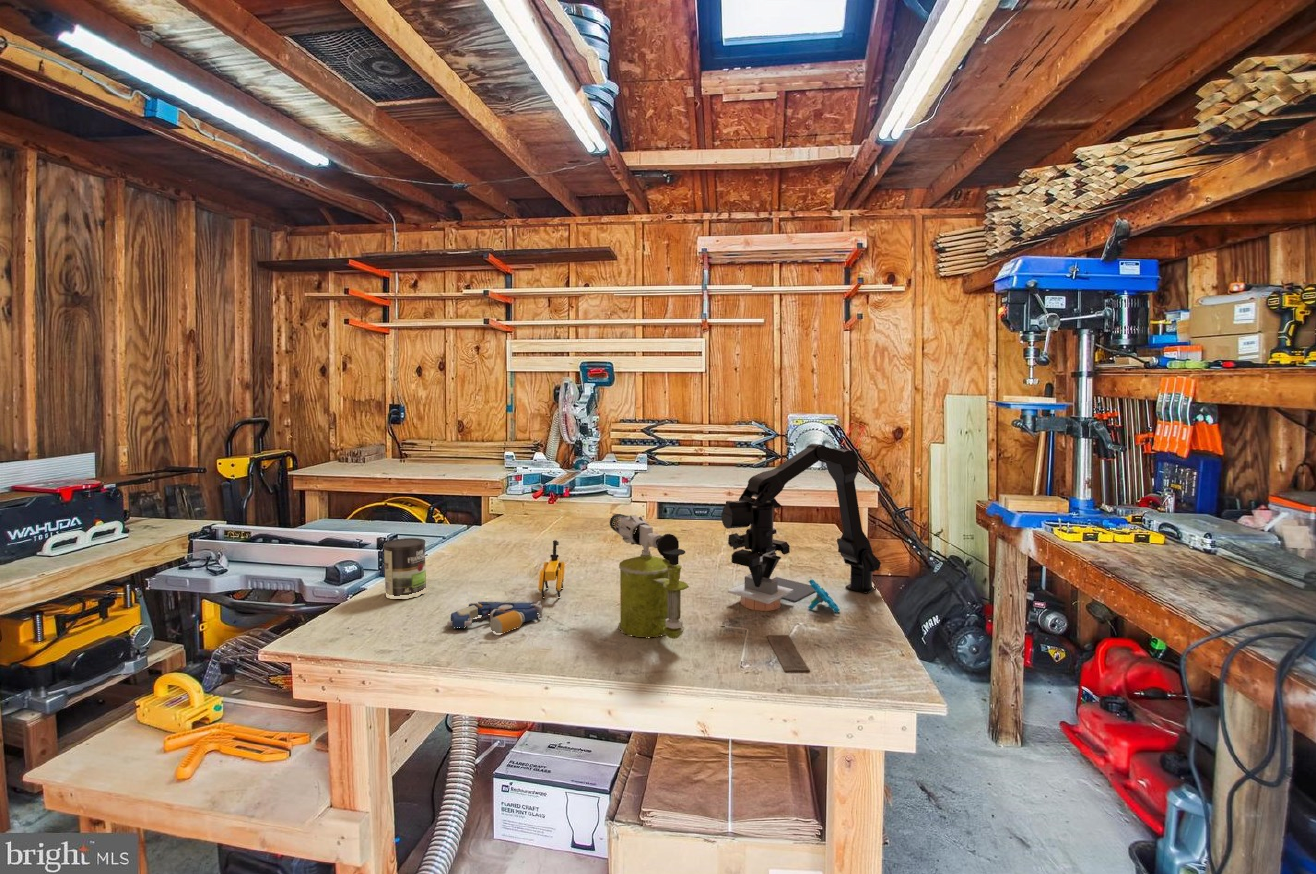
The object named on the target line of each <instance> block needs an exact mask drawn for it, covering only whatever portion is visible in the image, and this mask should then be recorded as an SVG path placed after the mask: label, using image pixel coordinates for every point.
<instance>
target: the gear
mask: <svg viewBox="0 0 1316 874" xmlns="http://www.w3.org/2000/svg"><path fill="white" fill-rule="evenodd" d="M808 583H809V585H811V586H812V587H813V588H814V589H815V592H814V593H816V594H815V595H816V597H814V598H813V599H812V600H811V601H810V603H811V604H810V605H809V606H808V607H807V608H808V609H809V610H810V611H812V610H813V609H815V608H816V607H817V606H818V605H819V604H820V603H821V604H823V602H824V603H826V604H828V607H829V608H830V609H831V610H833V611H834V612H835V613H839V612H840V610H841V609H840V608H839V606H838V604H837V603H836V602H835V601H834V600H833V598H832V597H831V596H830V595H829V593H828V592H827V591H826V590H825V588H823V587H821V586H820V584H819V583H818V582H816V581H815V580H814V579H810V580H809V581H808Z"/></svg>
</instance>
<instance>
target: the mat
mask: <svg viewBox="0 0 1316 874" xmlns="http://www.w3.org/2000/svg"><path fill="white" fill-rule="evenodd" d="M772 579H774V580H778V586H782V587H785V588H789V589H793V592H792V593H790V594H788V595H786V596H784V597H782V598H781V600H786V601H789V602H794V603H796V602H798V601H801V600H802V599H804V598H806V597H809V596H810V595H812V594H814V593H816V592H815V589H814V588H813V587H812V586H811V584H807V583H803V582H799V581H795V580H791V579H786V578H783V577H778V576H775V577H773V578H772Z"/></svg>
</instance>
